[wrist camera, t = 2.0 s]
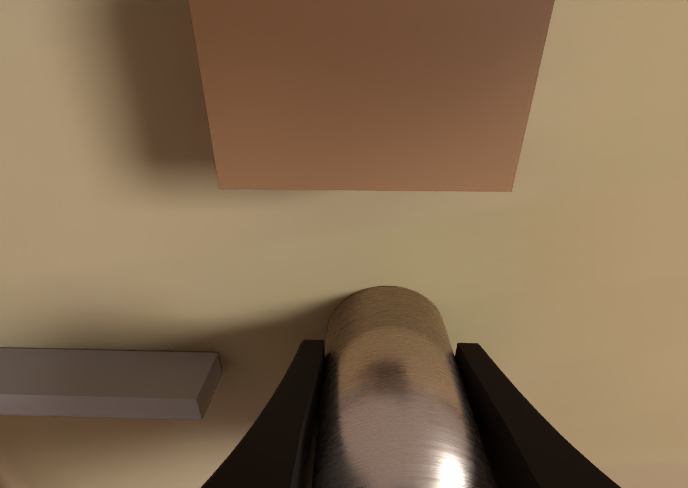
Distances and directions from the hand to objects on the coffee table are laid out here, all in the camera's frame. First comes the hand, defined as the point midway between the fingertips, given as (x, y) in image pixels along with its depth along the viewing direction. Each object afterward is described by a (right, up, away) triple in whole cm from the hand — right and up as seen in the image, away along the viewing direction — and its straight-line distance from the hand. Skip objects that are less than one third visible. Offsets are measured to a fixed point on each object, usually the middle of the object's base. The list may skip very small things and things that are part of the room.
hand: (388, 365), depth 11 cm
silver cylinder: (0, +1, +1) cm, 1 cm away
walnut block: (-1, +9, -3) cm, 9 cm away
